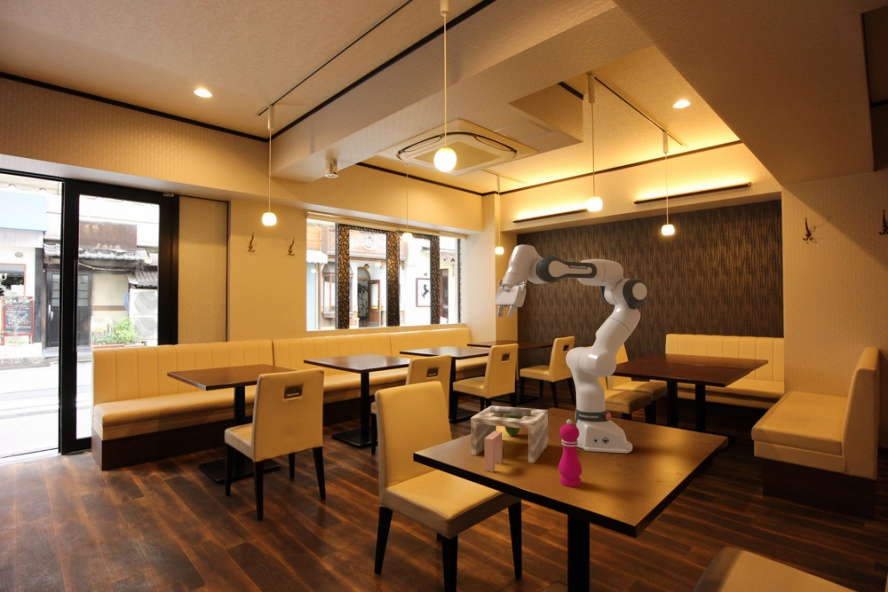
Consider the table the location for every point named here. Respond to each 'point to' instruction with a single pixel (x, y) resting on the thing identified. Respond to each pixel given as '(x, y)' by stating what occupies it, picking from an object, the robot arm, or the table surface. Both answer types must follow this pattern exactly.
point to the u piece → (493, 450)
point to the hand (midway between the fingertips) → (504, 317)
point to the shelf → (532, 421)
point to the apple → (512, 430)
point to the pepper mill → (570, 456)
